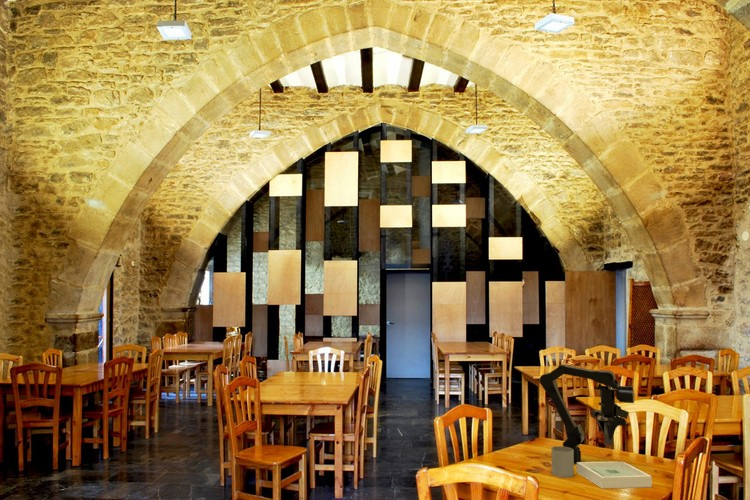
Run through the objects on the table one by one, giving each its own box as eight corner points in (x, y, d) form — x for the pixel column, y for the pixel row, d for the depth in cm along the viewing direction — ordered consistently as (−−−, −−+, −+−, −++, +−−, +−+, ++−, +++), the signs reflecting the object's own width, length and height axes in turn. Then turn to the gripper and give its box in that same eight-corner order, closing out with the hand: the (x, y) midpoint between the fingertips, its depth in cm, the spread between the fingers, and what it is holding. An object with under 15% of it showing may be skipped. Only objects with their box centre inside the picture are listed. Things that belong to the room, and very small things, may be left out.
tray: (601, 488, 222) (601, 477, 222) (576, 472, 242) (576, 462, 242) (651, 487, 224) (651, 476, 225) (622, 471, 244) (622, 461, 244)
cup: (573, 472, 241) (573, 447, 242) (573, 478, 233) (573, 452, 234) (552, 470, 244) (552, 445, 245) (551, 476, 236) (551, 450, 237)
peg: (606, 445, 249) (606, 423, 249) (603, 443, 252) (602, 422, 252) (614, 445, 249) (613, 423, 250) (610, 443, 252) (609, 422, 253)
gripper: (638, 404, 243) (638, 443, 242) (614, 396, 262) (614, 433, 261) (612, 405, 242) (613, 444, 241) (590, 397, 260) (590, 433, 259)
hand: (608, 438), depth 250 cm, fingers closed on peg, 3 cm apart
